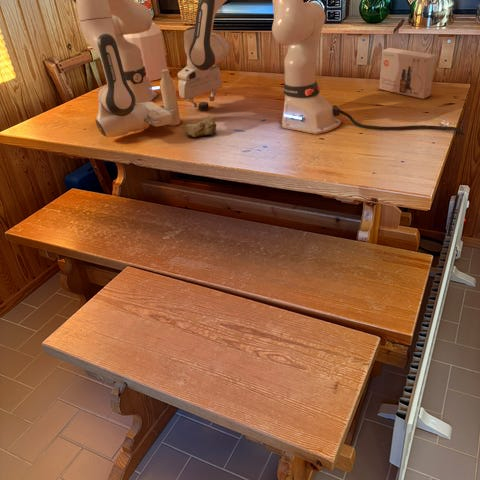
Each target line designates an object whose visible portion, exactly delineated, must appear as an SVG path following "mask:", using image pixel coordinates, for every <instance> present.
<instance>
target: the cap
mask: <svg viewBox="0 0 480 480" xmlns="http://www.w3.org/2000/svg"><path fill="white" fill-rule="evenodd" d="M197 107H198V110H199V111H208V110H209V109H210V108H209V107H210V106H209V102H207V101H201V102H198V103H197Z"/></svg>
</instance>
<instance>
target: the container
mask: <svg viewBox="0 0 480 480" xmlns="http://www.w3.org/2000/svg"><path fill="white" fill-rule="evenodd" d="M123 36H124V38H125V39H126V40H127V41H128V42H131V43H133V44H135V45H137V46H138V47H139V49H140V51H141V55H142V61H143V66H144V67H145V69H146V76H147V77H148V78H150V80H151V82H152V81H157V80H161V79H162V74H161V70H163V69H168V64H167V57H166V51H165V45H164V39H163V32H162V30H161V29H160V27H159V26H158V25H157V24H156V23H155V22H154V21H152V25H151V27H150V29H149V30H147V31H145V32H141V33H137V34H126V35H123Z"/></svg>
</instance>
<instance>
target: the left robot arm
mask: <svg viewBox="0 0 480 480" xmlns="http://www.w3.org/2000/svg"><path fill="white" fill-rule="evenodd" d="M72 1H73V2H74V3H75V5H76V6H75V7H76V12H77V19H78V23H79V27H80V31H81V33H82V36H83V38H84V41H85V43H86V44H87V45H88V46H89V47H90V48H91V49H92V50H93V51H94V52H95V53H96V54H97V56H98V57H99V59H100V61H101V65H102V68H103V73H104V76H105V79H106V85H103V86H102V87H101V88H100V89H99V90H98V93H97V101H98V102H97V104H98V107H97V115H96V117H95V125H96V127H97V129H98V131H99V132H100V134H101V135H102V136H104V138H105V137H106V138H117V137H120V136H121V137H122V136H124V135H127V134H129V133H131V132H132V133H133V132H138V131H142V130H145V129H149V127H150V125H152V126H153V127H162V126H168V125H167V124H171V123H172V122H173V117H172V116H173V115H174V114H178V109H179V108H178V109H176V108H174V109H172V110H171V111H167V110H165V109H164V104H157V103H155V102H153V100H154V98H156V97H157V96H158V94H157V92H154V90H159V89H160V90H161V88H160V85H158V86H153V85H152V81H151V80H150V78H148V77H147V76H146V69H145V67H144V66H143V61H142V55H141V51H140V49H139V47H138V46H137V45H135V44H133V43H131V42H128V41H127V40H126V39H125V38H124V36H123V35H126V34H137V33H141V32H145V31H147V30H149V29H150V27H151V25H152V22H153V16H152V13H151V11H150V9H149V7H147V5H144V4H141V3H139V2H137V1H135V0H72Z"/></svg>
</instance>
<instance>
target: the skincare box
mask: <svg viewBox="0 0 480 480" xmlns="http://www.w3.org/2000/svg"><path fill="white" fill-rule="evenodd" d="M436 57H437V54H435V53H427V52H423V51H422V52H420V51H413V50H407V49H400V48H395V47H394V48H393V47H387V48H385V49H382V50H381V61H380V74H379V86H378V87H379V88H378V89H379V90H383V91H387V92H391V93H395V94H399V95H405V96H409V97H414V98H418V99H422V100H424V99H426V98H428V97H430V96H431V91H432V86H433V85H432V84H433V78H434V73H435V72H434V71H435V70H434V69H435V64H436Z"/></svg>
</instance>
